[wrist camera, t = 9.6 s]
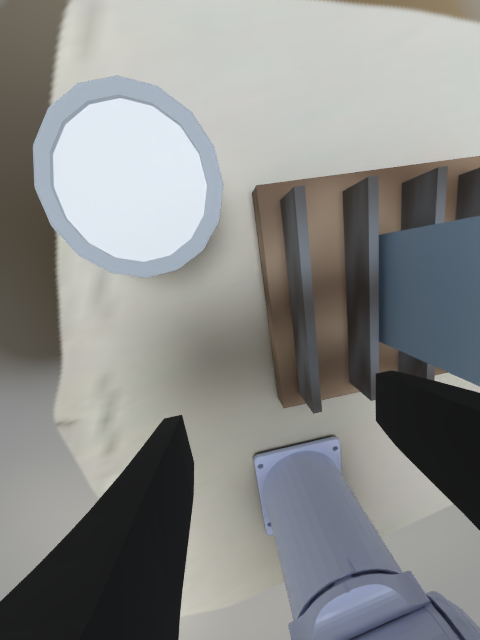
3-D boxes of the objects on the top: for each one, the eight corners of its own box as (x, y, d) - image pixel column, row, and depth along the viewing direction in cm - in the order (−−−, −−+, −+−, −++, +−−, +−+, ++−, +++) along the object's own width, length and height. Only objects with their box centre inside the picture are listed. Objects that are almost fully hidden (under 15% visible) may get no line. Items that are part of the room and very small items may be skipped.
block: (391, 328, 17) (534, 377, 10) (362, 334, 17) (484, 388, 10) (392, 233, 16) (567, 200, 8) (360, 238, 16) (507, 210, 8)
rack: (447, 361, 21) (501, 383, 17) (278, 397, 19) (294, 430, 16) (462, 164, 17) (537, 134, 13) (252, 193, 15) (265, 168, 12)
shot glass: (157, 137, 14) (107, 18, 7) (238, 219, 16) (259, 183, 9) (90, 223, 15) (-13, 186, 8) (175, 293, 16) (150, 311, 10)
